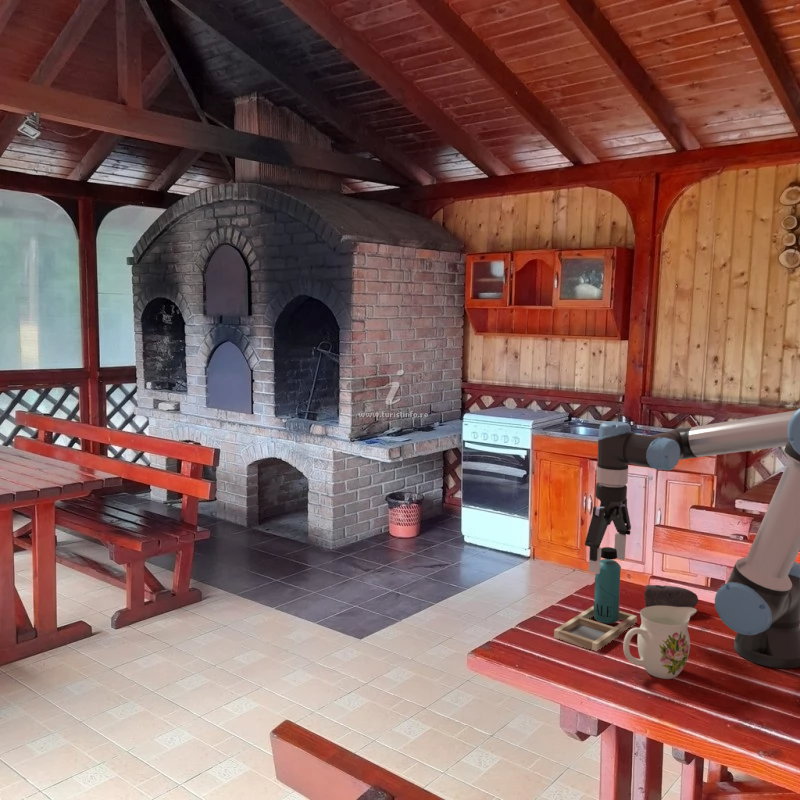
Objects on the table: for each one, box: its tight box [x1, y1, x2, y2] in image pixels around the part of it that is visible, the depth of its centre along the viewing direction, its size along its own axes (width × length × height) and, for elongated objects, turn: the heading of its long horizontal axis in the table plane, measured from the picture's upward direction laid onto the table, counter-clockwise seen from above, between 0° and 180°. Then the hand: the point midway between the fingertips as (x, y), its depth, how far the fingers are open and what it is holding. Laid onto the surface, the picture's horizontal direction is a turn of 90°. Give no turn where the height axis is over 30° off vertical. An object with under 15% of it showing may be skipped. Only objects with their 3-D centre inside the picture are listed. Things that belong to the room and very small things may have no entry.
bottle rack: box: [553, 605, 638, 651], centre depth 188 cm, size 22×11×2 cm, turn 138°
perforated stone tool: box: [643, 584, 699, 608], centre depth 200 cm, size 15×5×7 cm, turn 89°
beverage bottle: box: [593, 546, 622, 624], centre depth 190 cm, size 6×7×20 cm
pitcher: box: [622, 606, 698, 680], centre depth 166 cm, size 11×18×14 cm, turn 106°
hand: (607, 565), depth 190 cm, fingers open, 13 cm apart
